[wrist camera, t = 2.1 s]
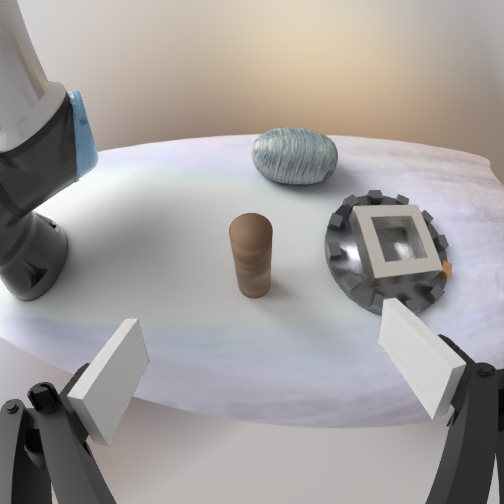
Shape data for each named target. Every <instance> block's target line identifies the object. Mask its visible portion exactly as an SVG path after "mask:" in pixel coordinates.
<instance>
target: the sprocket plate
mask: <svg viewBox="0 0 504 504" xmlns="http://www.w3.org/2000/svg"><path fill="white" fill-rule="evenodd" d="M408 202H409V199H408V198H406V197H404V196H401V195H399V194H398V196H397V198H396V199H394V198H390V197H386V196H382V193H381V191H380V190H369V192H368V195H367V196H362V197H358V198H356V197H355V196H354V195H351V196H349V197H348V198H346V199H344V201H343V204H342V206H341V207H340V208H339V209H338V210H337V211H336V212H335V213H333V214H332V216H331V219H330V221H329V224H328V227H327V228H328V229H327V232H326V236H325V254H326V259H327V263H328V266H329V268H330V271H331V273H332V275H333V277H334V279H335V280H336V282H337V283H338V285H339V286H340V287H341V289H342V290H343V291H344V292H345V293H346V294H347V295H348V296H349V297H350V298H351V299H352V300H353V301H354V302H356V303H357V304H358V305H360V306H361V307H363V308H365V309H367V310H369V311H371V312H373V313H375V314H378V315H382V310H383V300H384V299H391V298H396V299H398V300H399V301H400V302H401V303H402V304H403V305H404V306H406V307H407V308H408V309H409V310H410V311H411V312H412V313H413V314H418V313H420V312H422V311H423V310H425V309H426V308H428V307H429V306H430V305H432V304H433V303H435V302H436V301H437V300H438V299H439V298H440V297H441V295H442V294H443V293H444V291H443V288H444V286H445V283H446V279H447V278H448V277H450V276H451V267H452V264H450V263H448V262H447V257H446V252H445V249H446V248H447V247H448V246H449V245H448V243H447V240H446V238H445V235H438V233H437V232H436V230H435V229H434V227H433V226H432V225H431V221H432V220H433V218H432V217H431V215H430V214H429V213H428V212H427V211H426V210H424V211H423V212H422V213H421V212H420V210H419V207H418V205H408Z"/></svg>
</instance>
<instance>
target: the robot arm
mask: <svg viewBox="0 0 504 504" xmlns="http://www.w3.org/2000/svg"><path fill="white" fill-rule="evenodd" d="M97 162H98V152H97V149H96V145H95V142H94V139H93V135H92V132H91V129H90V126H89V122H88V119H87V116H86V112H85V108H84V104H83V101H82V98H81V95H80V92H79V91H77V90H76V91H70V92H69V93H68V94H67V91H66V89H65V87H64V85H63V84H61V83H59V82H51V81H48V80H47V78H46V75H45V73H44V71H43V69H42V66H41V64H40V62H39V59H38V57H37V54H36V52H35V50H34V47H33V45H32V42H31V40H30V37H29V34H28V32H27V29H26V26H25V24H24V20H23V18H22V15H21V12H20V9H19V5H18V2H17V0H0V279H1V280H2V282H3V283H4V285H5V286H6V288H7V289H8V290H9V291H10V292H11V293H12V294H13V295H15V296H16V297H18V298H20V299H22V300H32V299H35V298H37V297H39V296H40V295H42V294H43V293H44V292H46V291H47V290H48V289H49V288H50V287H51V285H52V284H53V283H54V281H55V280H56V278H57V277H58V275H59V273H60V271H61V269H62V267H63V264H64V262H65V258H66V253H67V239H66V236H65V233H64V232H63V230H62V229H61V228H60V227H59V226H58V225H57V224H56V223H55V222H54V221H52V220H51V219H49V218H47V217H45V216H43V215H41V214H39V213H37V212H35V211H33V210H34V209H35V208H36V207H38V206H39V205H41V204H42V203H44V202H45V201H46V200H48V199H49V198H51V197H52V196H54V195H55V194H57V193H58V192H60V191H62V190H63V189H65V188H66V187H68V186H69V185H71V184H73V183H74V182H77V181H78V180H79V178H81V177H82V176H84V175H85V174H86V173H88V172H89V171H91V170H92V169H93V168H94V167H95V166H96V164H97ZM378 343H379V345H380V346H381V347H382V349H383V350H384V351H385V353H386V354H387V355H388V357H389V358H390V360H391V361H392V362H393V364H394V365H395V366H396V368H397V369H398V371H399V372H400V373H401V375H402V376H403V378H404V379H405V380H406V382H407V383H408V385H409V386H410V388H411V389H412V390H413V392H414V393H415V395H416V396H417V398H418V399H419V400H420V402H421V403H422V405H423V406H424V408H425V409H426V411H427V412H428V414H429V415H430V417H431V418H432V419H435V418H437V417H440V416H442V415H444V414H446V413H447V411H448V408H449V406H450V404H451V405H452V406H453V407H454V408H455V409H454V411H453V414H452V416H451V418H450V420H449V422H448V424H447V426H449V425H450V427H449V431H448V435H447V440H446V443H445V447H444V451H443V454H442V458H441V461H440V464H439V468H438V471H437V474H436V477H435V480H434V483H433V486H432V488H431V491H430V493H429V496H428V499H427V501H426V503H425V504H487V500H488V495H489V490H490V486H491V480H492V475H493V468H494V461H495V453H496V459H497V468H498V479H499V496H500V504H504V369H499V370H496V369H495V368H494V366H492V365H490V364H488V363H475V362H474V361H473V360H472V359H471V358H470V357H469V356H468V355H467V354H466V353H465V352H463V351H462V350H460V348H459V347H458V346H457V345H455V343H454V342H453V341H451V340H450V339H449V338H447V337H445V336H443V335H441V334H440V335H436V334H435V333H434V332H433V331H432V330H431V329H430V328H429V327H428V326H427V325H426V324H425V323H423V322H422V321H421V320H420V319H419V318H418V317H417V316H416V315H415V314H413V313H412V312H411V311H410V310H409V309H408V308H407V307H406V306H404V305H403V304H402V303H401V302H400V301H399V300H398V299H396V298H391V299H384V300H383V310H382V318H381V326H380V333H379V340H378ZM148 363H149V358H148V354H147V351H146V347H145V344H144V340H143V337H142V333H141V329H140V325H139V321H138V319H125V320H124V321H123V322H122V324H121V325H120V326H119V327H118V329H117V330H116V331H115V332H114V334H113V335H112V336H111V338H110V339H109V340H108V341H107V343H106V344H105V345H104V347H103V348H102V349H101V350H100V352H99V353H98V354H97V356H96V357H95V358H94V360H93V361H92V362H91V363H86V364H85V365H83V366H82V367H81V368H79V369H78V371H77V372H76V373H75V374H74V377H72V378H71V380H70V382H68V384H67V385H66V386H65V388H64V389H63V390H62V392H61V393H60V394H59V395H58V393H57V391H56V389H55V387H54V386H53V384H51V383H48V382H42V383H38V384H36V385H34V386H33V387H32V388H31V389H30V390H29V392H28V395H27V396H28V398H29V399H30V401H31V403H32V405H33V406H34V408H26V407H25V406H24V404H23V402H22V401H21V400H19V399H12V400H9V401H7V402H6V403H5V404H4V405H3V406H2V408H1V411H0V504H52V493H51V482H52V485H53V489H54V492H55V495H56V498H57V501H58V504H117V503H116V502H115V500H114V498H113V496H112V494H111V492H110V491H109V489H108V487H107V485H106V483H105V481H104V479H103V477H102V475H101V472H100V470H99V469H98V466H97V464H96V461H95V459H94V457H93V455H92V452H91V450H90V447H89V445H88V444H87V443H86V439H87V437H88V435H89V436H90V437H91V439H92V441H93V442H94V443H96V444H100V445H104V446H110V444H111V442H112V439H113V437H114V435H115V433H116V431H117V428H118V426H119V424H120V422H121V420H122V417H123V415H124V413H125V411H126V408H127V406H128V404H129V402H130V400H131V398H132V396H133V394H134V392H135V389H136V387H137V385H138V383H139V381H140V379H141V377H142V375H143V373H144V371H145V369H146V367H147V365H148Z"/></svg>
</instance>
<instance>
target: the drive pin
mask: <svg viewBox="0 0 504 504" xmlns="http://www.w3.org/2000/svg"><path fill="white" fill-rule="evenodd" d="M272 232H273V230H272V225H271V223H270V222H269V220H268V219H267V218H265V217H264V216H262V215H260V214H256V213H247V214H243V215H240V216H238V217H237V218H236V219H234V221H233V222H232V223H231V225H230V228H229V235H230V241H231V247H232V252H233V258H234V263H235V268H236V274H237V279H238V285H239V289H240V291H241V292H242V293H243V294H244V295H245V296H247V297H250V298H258V297H261V296H263V295H264V294H266V293H267V291H268V289H269V287H270V272H271V253H272Z"/></svg>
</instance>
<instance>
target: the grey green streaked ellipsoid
mask: <svg viewBox="0 0 504 504" xmlns="http://www.w3.org/2000/svg"><path fill="white" fill-rule="evenodd" d="M251 152H252V158H253V162H254V164H255V167H256V168H257V170H258V171H259V172H260V173H261V174H262V175H263V176H265V177H267V178H269V179H271V180H274V181H277V182H281V183H287V184H313V183H318V182H321V181H323V180H325V179H327V178H328V177H329V176H330V175H331V174H332V173H333V171H334V170H335V168H336V165H337V161H338V153H337V149H336V146H335V144H334V143H333V142H332V140H331V139H330V138H328V137H327V136H325V135H323V134H321V133H318V132H315V131H311V130H306V129H299V128H277V129H273V130H270V131H267V132H265V133H264V134H262V135H260V136H259V137H258V138H257V139H256V140H255V142H254V143H253V145H252V149H251Z"/></svg>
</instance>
